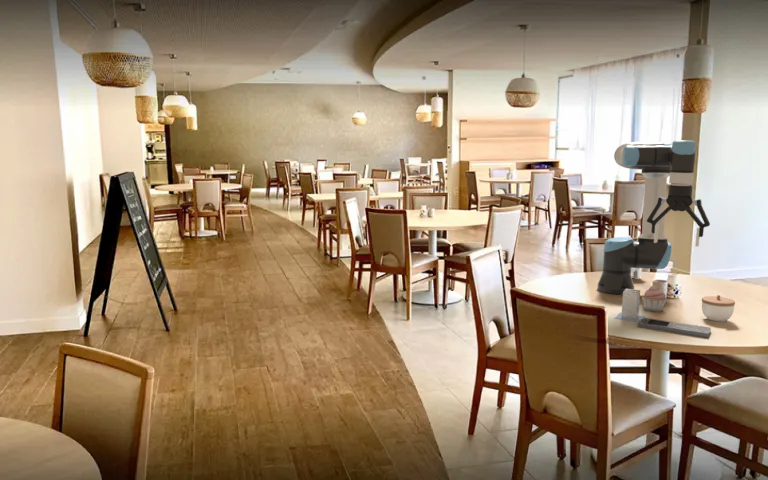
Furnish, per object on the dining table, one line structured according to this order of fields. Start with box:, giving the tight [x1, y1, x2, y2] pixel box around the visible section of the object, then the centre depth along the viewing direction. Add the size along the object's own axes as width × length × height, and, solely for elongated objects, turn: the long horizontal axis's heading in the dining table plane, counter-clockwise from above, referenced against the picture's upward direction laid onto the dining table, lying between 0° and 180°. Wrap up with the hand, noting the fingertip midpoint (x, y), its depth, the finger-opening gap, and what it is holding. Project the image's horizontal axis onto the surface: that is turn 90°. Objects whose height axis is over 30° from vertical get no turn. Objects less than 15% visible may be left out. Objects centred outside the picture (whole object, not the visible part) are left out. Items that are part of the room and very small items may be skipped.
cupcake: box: [641, 284, 668, 313], centre depth 242 cm, size 9×9×10 cm
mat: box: [614, 312, 646, 323], centre depth 230 cm, size 9×9×1 cm
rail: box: [637, 317, 712, 339], centre depth 216 cm, size 22×8×2 cm, turn 57°
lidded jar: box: [701, 294, 736, 323], centre depth 228 cm, size 11×11×9 cm
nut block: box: [621, 289, 641, 320], centre depth 230 cm, size 5×5×10 cm
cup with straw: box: [631, 238, 643, 280], centre depth 296 cm, size 8×9×20 cm
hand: (675, 244), depth 222 cm, fingers open, 13 cm apart
